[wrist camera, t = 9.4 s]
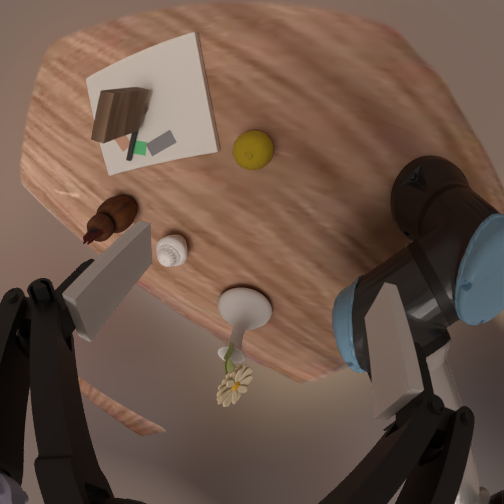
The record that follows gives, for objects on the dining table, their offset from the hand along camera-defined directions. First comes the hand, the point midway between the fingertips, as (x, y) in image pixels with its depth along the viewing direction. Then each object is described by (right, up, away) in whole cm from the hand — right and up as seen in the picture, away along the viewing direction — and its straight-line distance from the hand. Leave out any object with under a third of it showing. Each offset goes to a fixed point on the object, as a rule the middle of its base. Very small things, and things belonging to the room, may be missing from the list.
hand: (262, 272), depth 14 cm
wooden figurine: (-25, +10, +35) cm, 44 cm away
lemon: (0, +17, +25) cm, 30 cm away
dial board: (-18, +25, +24) cm, 39 cm away
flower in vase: (-1, -9, +43) cm, 44 cm away
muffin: (-15, +3, +37) cm, 40 cm away
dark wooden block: (-19, +22, +24) cm, 38 cm away
